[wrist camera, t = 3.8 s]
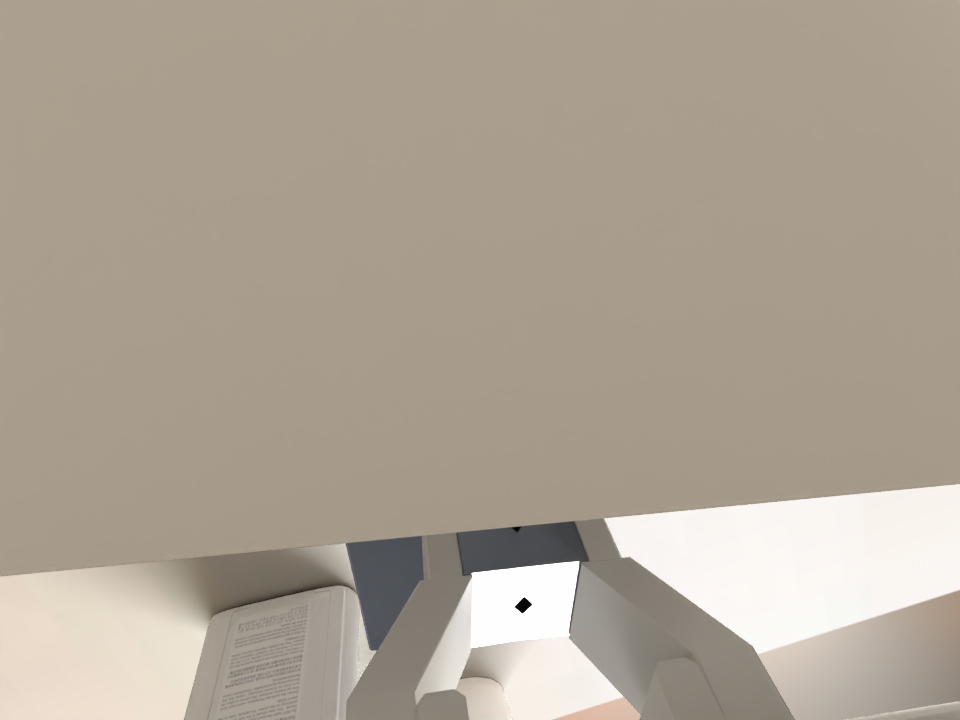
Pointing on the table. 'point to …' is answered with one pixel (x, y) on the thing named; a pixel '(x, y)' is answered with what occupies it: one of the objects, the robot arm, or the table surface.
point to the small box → (385, 580)
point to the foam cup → (484, 699)
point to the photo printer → (280, 659)
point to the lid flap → (466, 265)
